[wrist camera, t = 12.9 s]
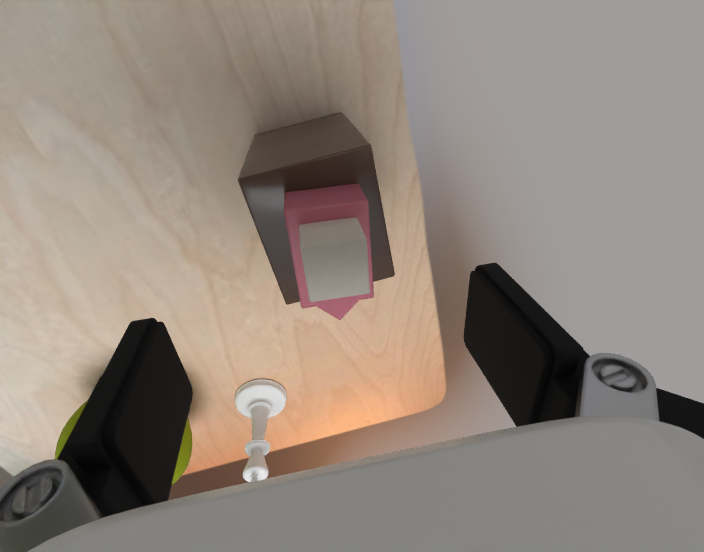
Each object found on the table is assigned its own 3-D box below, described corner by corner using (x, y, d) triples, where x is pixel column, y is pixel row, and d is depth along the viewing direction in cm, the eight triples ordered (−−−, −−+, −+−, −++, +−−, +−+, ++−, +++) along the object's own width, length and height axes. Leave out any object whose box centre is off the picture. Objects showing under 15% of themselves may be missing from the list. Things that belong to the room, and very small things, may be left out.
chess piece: (282, 375, 36) (281, 475, 27) (290, 409, 38) (290, 511, 30) (230, 383, 35) (211, 487, 27) (241, 417, 38) (228, 522, 30)
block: (254, 135, 25) (236, 179, 16) (342, 112, 25) (371, 143, 16) (286, 229, 28) (286, 305, 20) (363, 209, 28) (395, 276, 20)
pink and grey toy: (284, 191, 17) (283, 234, 13) (358, 182, 17) (379, 221, 13) (303, 300, 20) (307, 360, 16) (366, 290, 20) (385, 348, 16)
